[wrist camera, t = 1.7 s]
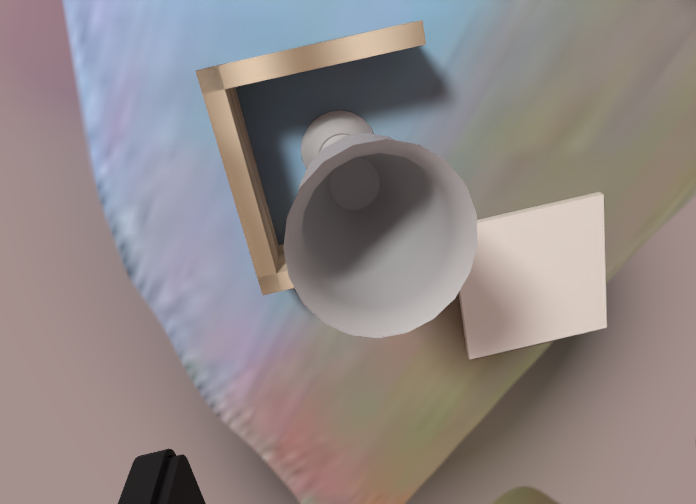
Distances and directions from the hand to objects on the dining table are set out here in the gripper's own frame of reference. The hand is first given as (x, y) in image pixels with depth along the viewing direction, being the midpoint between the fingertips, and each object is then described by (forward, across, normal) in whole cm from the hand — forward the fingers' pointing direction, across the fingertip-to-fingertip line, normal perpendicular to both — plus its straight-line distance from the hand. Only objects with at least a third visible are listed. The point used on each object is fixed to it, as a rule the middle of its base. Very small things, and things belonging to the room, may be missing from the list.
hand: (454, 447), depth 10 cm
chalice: (+28, -1, 0) cm, 28 cm away
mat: (+28, -13, +12) cm, 33 cm away
